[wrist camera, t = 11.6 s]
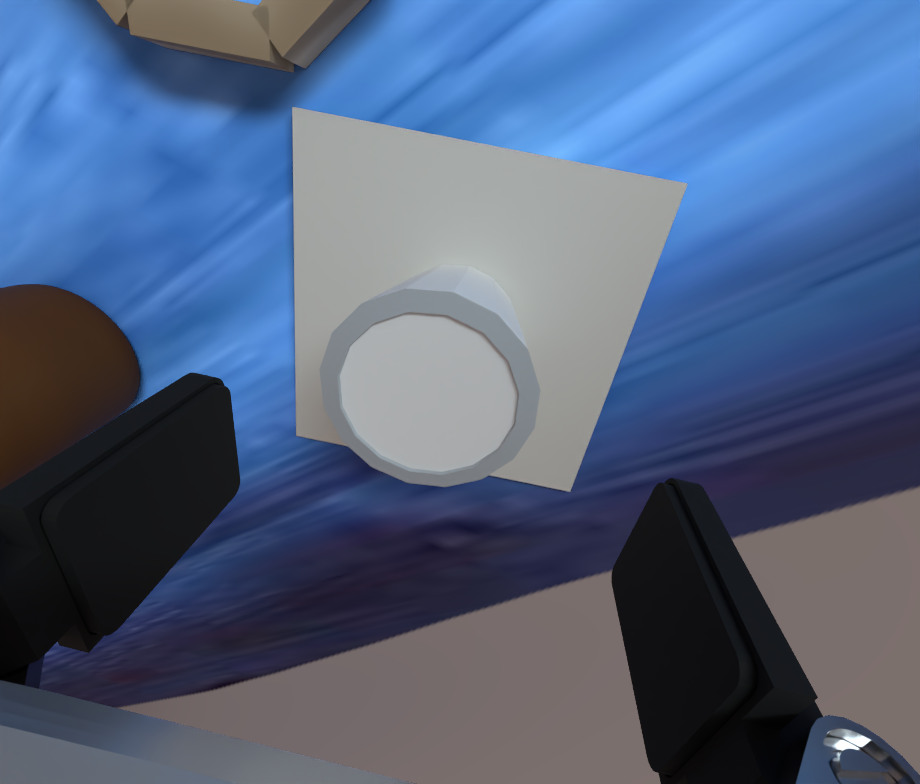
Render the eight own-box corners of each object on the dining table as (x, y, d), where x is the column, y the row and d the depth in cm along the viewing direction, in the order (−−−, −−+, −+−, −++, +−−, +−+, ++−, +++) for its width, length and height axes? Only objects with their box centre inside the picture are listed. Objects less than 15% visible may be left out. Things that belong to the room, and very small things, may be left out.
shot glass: (469, 420, 21) (451, 521, 15) (352, 338, 20) (281, 412, 14) (564, 315, 18) (590, 387, 12) (435, 212, 17) (392, 234, 11)
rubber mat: (683, 183, 16) (687, 183, 16) (569, 486, 23) (570, 491, 23) (297, 108, 16) (292, 106, 16) (299, 431, 23) (296, 435, 23)
